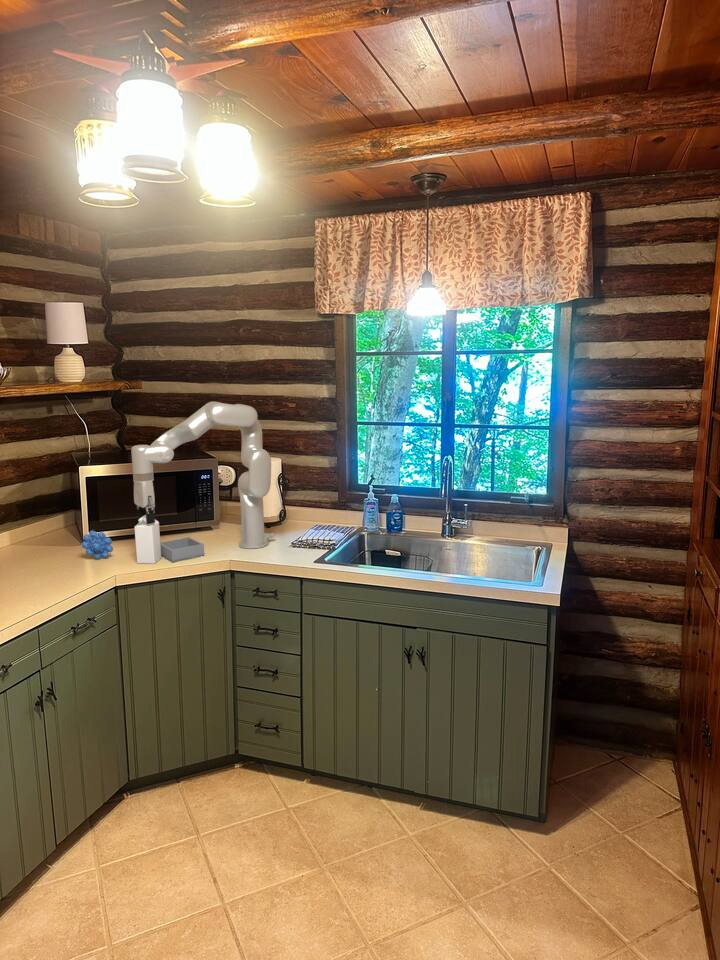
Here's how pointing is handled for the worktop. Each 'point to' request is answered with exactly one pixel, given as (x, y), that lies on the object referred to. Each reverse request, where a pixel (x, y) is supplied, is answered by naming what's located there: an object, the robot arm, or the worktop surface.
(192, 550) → the bin
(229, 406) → the robot arm
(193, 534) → the worktop surface
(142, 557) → the milk carton
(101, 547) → the grapes
